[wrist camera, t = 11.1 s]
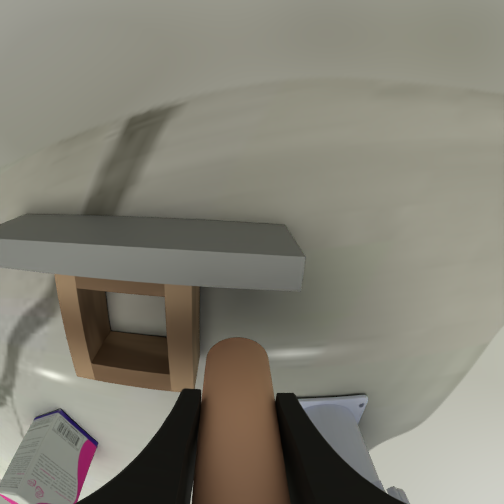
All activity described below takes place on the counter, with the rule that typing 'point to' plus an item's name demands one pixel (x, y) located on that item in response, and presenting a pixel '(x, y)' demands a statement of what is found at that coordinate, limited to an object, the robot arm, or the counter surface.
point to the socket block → (131, 345)
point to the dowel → (239, 430)
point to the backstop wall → (155, 250)
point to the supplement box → (49, 462)
